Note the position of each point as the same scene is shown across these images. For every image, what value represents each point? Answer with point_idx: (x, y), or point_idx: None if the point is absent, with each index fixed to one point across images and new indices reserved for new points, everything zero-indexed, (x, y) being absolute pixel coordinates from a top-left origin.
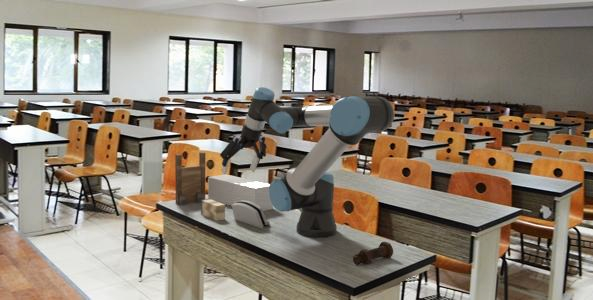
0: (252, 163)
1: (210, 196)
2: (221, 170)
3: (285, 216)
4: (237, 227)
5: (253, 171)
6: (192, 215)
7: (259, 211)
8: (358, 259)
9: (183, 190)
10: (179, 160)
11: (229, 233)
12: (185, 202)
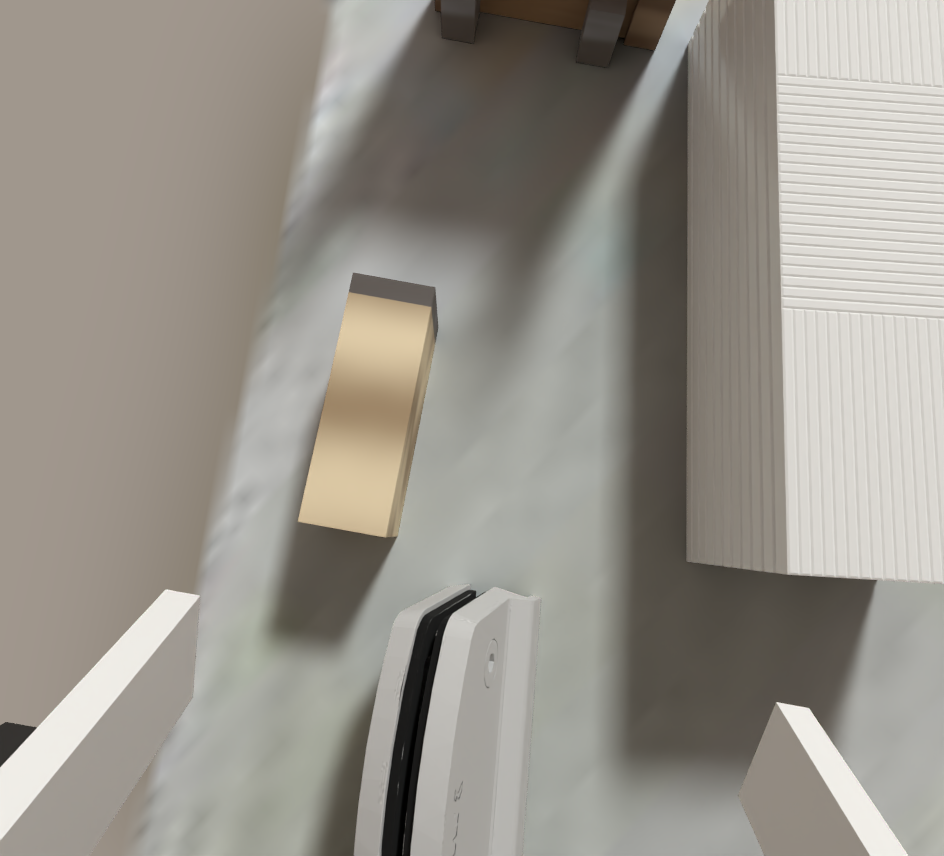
0: (832, 841)
1: (698, 48)
2: (161, 603)
3: None
4: (303, 775)
5: (748, 809)
6: (304, 299)
7: None
8: None
9: None
10: None
11: (148, 853)
12: (501, 13)
